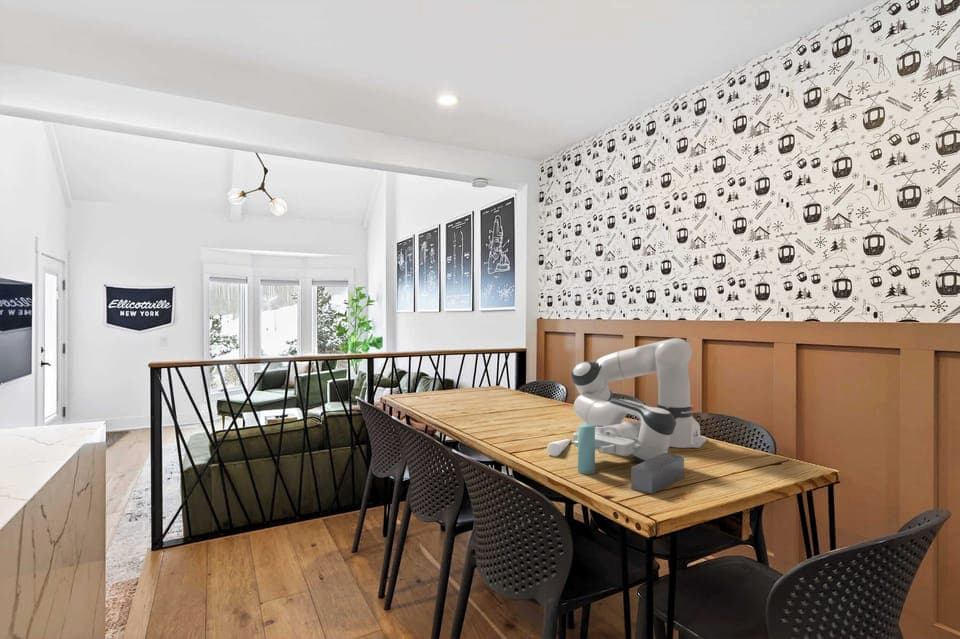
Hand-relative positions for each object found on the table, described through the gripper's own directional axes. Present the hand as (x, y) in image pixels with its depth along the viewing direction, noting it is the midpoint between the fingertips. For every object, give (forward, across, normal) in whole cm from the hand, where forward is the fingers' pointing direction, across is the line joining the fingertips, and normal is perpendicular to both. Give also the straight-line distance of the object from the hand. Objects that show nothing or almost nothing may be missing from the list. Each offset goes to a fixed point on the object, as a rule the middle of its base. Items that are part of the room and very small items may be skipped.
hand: (587, 447), depth 149 cm
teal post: (0, 0, -8) cm, 8 cm away
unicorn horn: (-14, +23, -8) cm, 28 cm away
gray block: (-7, -19, -8) cm, 22 cm away
